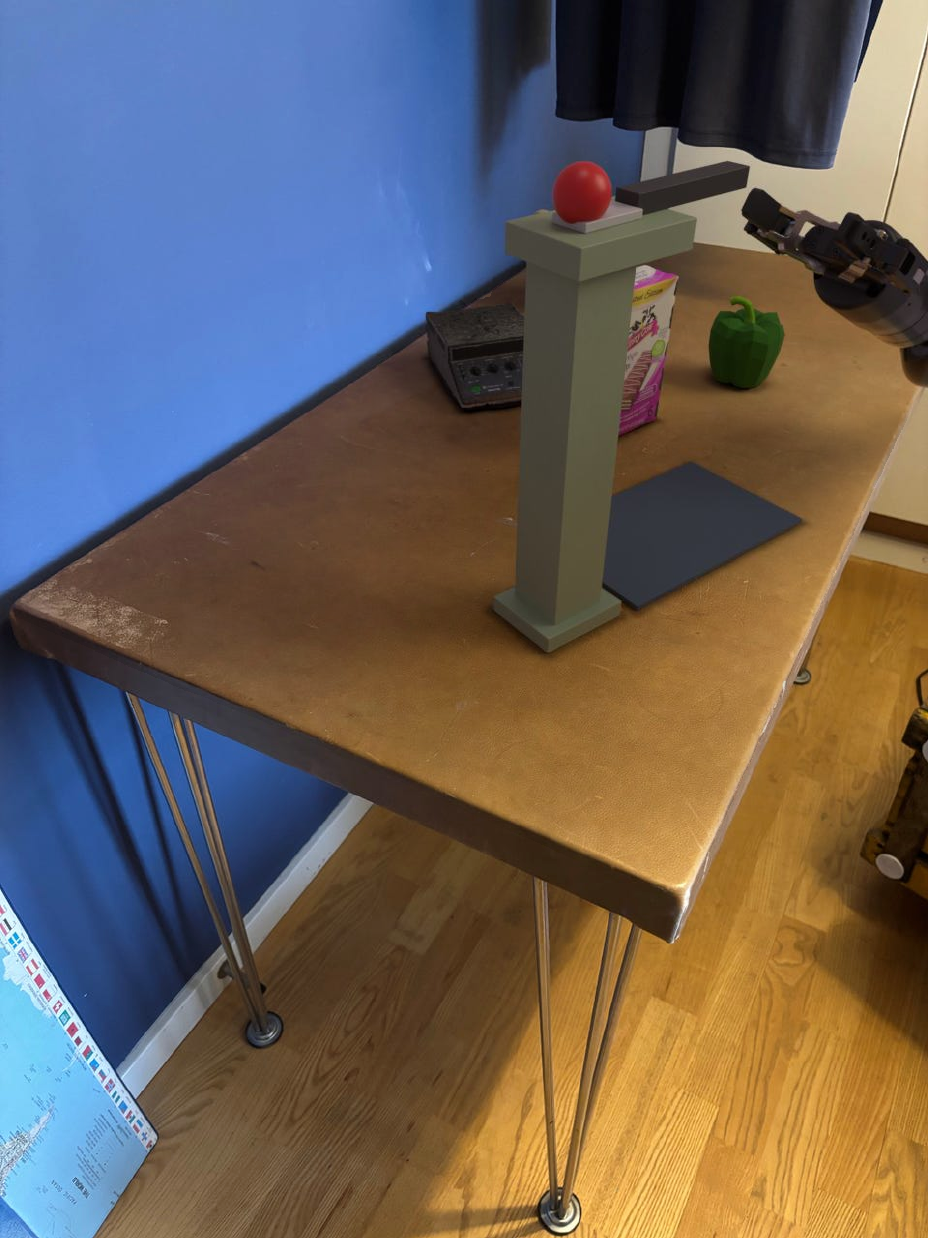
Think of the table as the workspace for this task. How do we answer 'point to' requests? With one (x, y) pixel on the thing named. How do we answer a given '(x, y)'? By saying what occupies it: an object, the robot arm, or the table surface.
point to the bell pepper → (744, 344)
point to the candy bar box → (647, 346)
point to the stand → (573, 412)
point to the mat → (682, 531)
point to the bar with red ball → (634, 193)
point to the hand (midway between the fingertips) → (794, 212)
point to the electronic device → (478, 354)
